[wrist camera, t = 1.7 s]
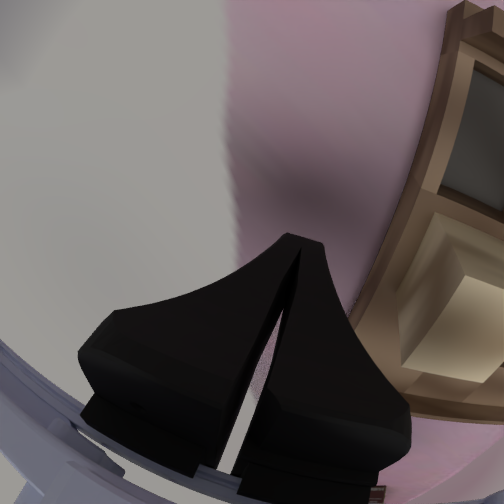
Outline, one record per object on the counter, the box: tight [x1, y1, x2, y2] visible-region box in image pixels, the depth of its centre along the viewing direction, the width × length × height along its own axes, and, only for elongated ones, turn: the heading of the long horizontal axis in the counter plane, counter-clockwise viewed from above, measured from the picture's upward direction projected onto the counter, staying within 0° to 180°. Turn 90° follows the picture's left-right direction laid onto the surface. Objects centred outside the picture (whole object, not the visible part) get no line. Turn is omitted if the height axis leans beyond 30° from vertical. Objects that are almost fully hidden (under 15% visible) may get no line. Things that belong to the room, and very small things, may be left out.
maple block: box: [396, 212, 504, 383], centre depth 10 cm, size 4×4×4 cm
